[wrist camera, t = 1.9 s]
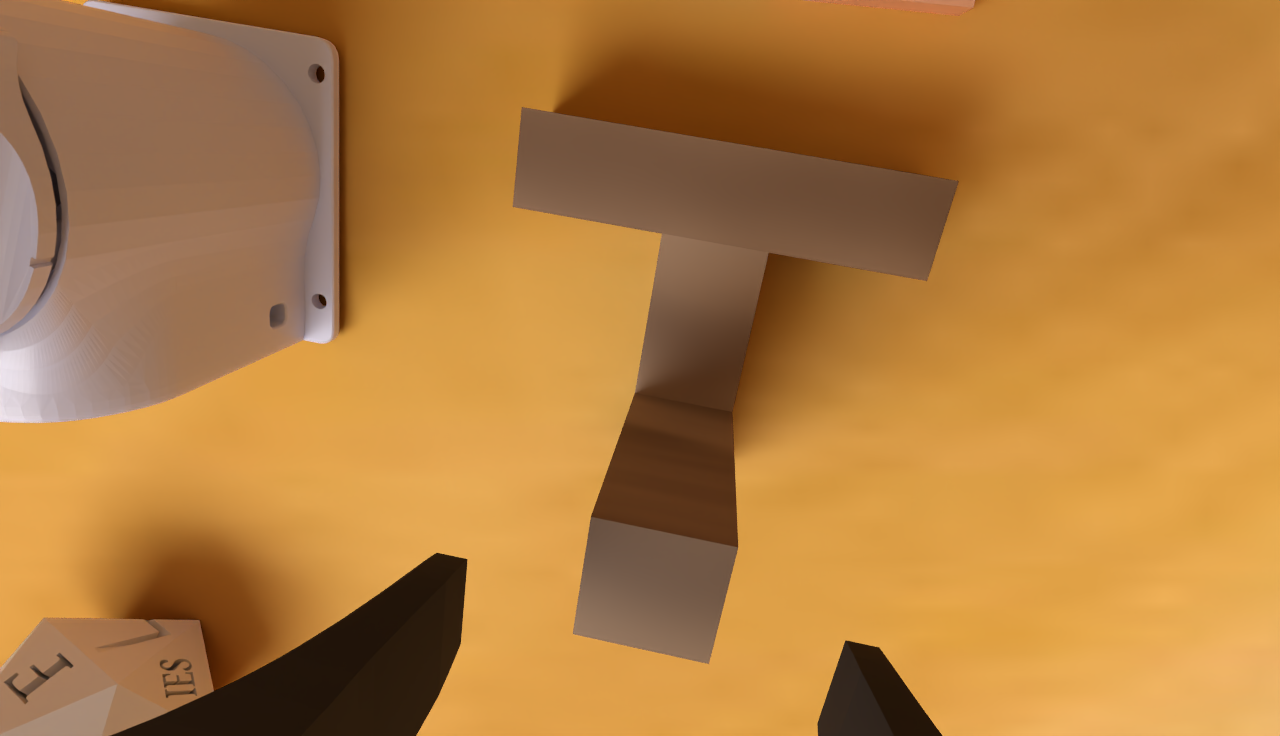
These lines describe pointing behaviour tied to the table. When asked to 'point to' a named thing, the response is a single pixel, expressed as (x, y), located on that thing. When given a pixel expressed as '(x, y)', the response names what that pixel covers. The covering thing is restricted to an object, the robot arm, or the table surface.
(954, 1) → the tile terracotta
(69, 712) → the die
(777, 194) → the scraper
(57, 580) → the table surface
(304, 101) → the robot arm
